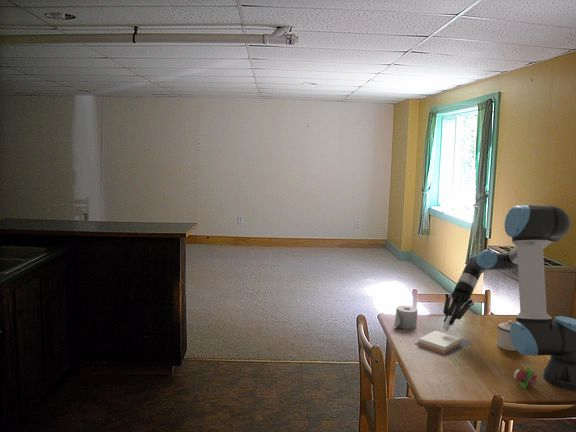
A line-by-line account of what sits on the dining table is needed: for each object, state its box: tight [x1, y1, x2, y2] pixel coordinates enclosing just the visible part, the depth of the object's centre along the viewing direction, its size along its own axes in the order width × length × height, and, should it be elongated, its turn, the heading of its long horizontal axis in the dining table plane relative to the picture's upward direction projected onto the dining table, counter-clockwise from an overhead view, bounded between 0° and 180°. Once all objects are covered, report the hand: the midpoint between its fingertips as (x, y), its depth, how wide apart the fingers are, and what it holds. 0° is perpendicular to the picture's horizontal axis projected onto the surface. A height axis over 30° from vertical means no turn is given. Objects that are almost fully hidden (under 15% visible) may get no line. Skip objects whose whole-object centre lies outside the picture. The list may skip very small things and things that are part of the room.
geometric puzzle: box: [513, 366, 538, 390], centre depth 177 cm, size 7×7×8 cm
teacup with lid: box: [496, 319, 517, 352], centre depth 214 cm, size 12×9×12 cm
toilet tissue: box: [393, 305, 418, 330], centre depth 233 cm, size 9×13×9 cm
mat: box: [414, 332, 473, 356], centre depth 215 cm, size 22×16×1 cm
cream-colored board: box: [417, 330, 462, 355], centre depth 212 cm, size 3×12×14 cm
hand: (444, 330), depth 215 cm, fingers closed
